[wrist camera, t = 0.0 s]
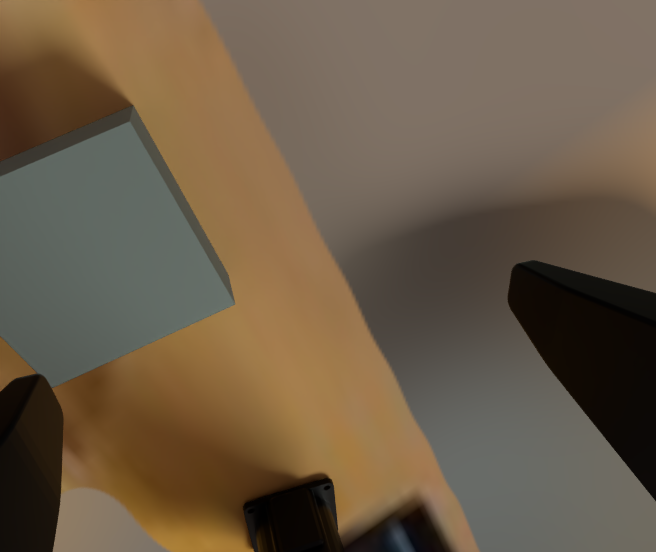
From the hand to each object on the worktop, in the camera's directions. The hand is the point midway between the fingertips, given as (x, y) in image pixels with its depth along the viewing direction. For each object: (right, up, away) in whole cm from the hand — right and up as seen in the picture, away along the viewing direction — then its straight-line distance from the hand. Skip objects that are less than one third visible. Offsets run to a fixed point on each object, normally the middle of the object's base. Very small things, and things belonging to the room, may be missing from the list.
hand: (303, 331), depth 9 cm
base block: (-10, +3, +13) cm, 17 cm away
